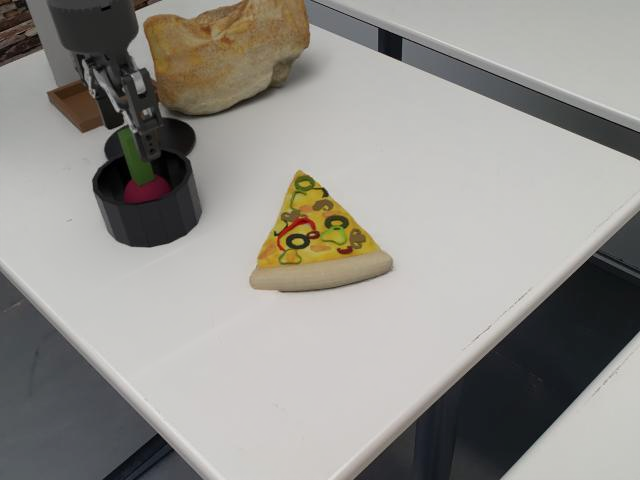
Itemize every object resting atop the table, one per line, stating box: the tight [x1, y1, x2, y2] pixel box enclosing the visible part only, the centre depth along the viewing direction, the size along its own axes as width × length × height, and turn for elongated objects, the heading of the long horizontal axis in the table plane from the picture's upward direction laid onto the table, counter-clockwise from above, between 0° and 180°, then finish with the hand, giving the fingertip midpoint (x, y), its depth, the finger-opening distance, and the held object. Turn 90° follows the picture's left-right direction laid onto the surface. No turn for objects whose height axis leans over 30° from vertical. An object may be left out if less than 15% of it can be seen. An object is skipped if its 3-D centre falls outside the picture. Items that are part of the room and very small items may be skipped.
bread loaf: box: [142, 0, 311, 116], centre depth 99 cm, size 23×17×15 cm
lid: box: [103, 111, 197, 161], centre depth 91 cm, size 12×12×7 cm
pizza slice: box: [249, 169, 394, 292], centre depth 79 cm, size 16×21×3 cm
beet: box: [118, 127, 172, 203], centre depth 78 cm, size 6×6×12 cm
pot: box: [91, 147, 203, 249], centre depth 81 cm, size 11×11×6 cm
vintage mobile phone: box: [25, 0, 80, 88], centre depth 98 cm, size 4×5×25 cm
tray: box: [46, 67, 161, 134], centre depth 101 cm, size 14×12×2 cm
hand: (132, 142), depth 75 cm, fingers open, 8 cm apart
